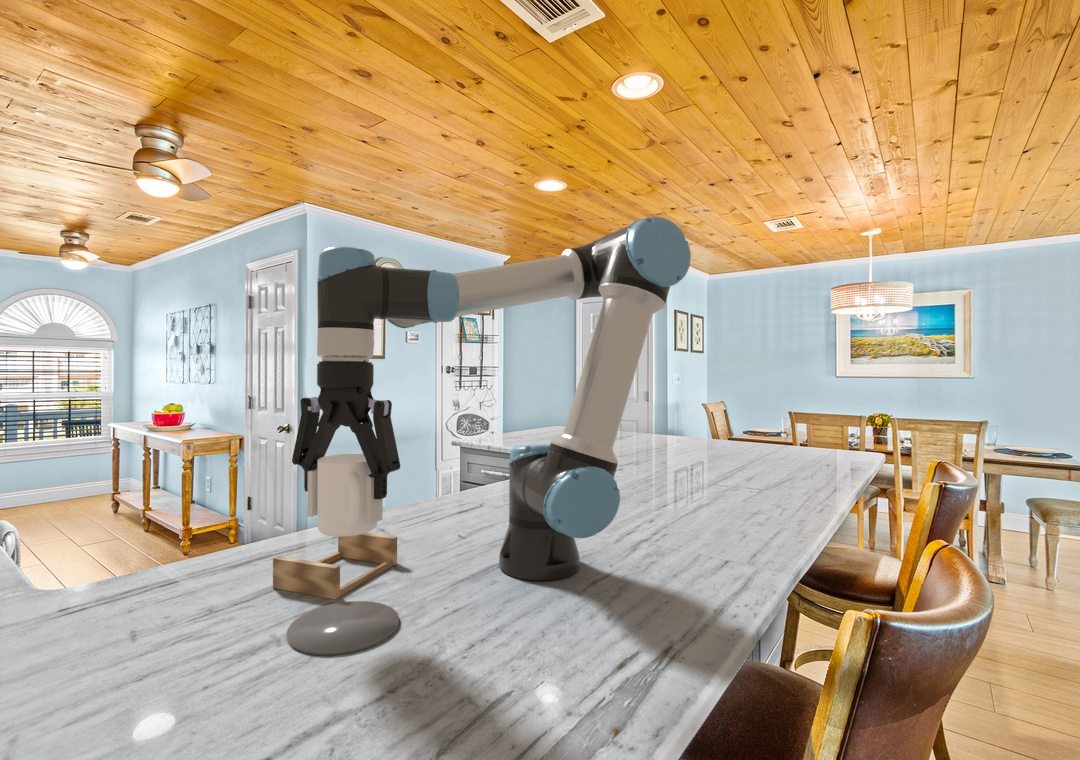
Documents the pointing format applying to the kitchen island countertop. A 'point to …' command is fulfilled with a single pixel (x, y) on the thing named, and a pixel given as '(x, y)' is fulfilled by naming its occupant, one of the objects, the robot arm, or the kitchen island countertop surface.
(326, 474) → the mug
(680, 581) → the kitchen island countertop surface
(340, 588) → the caddy
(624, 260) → the robot arm
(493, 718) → the kitchen island countertop surface
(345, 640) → the coaster
